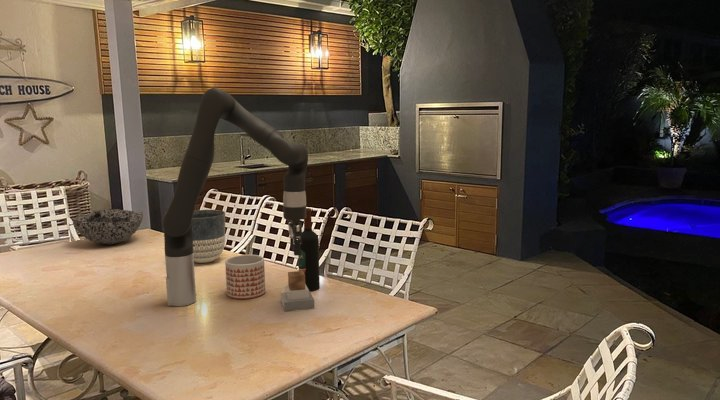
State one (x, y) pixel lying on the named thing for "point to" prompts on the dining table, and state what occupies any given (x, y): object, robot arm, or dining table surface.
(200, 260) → the planter
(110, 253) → the dining table surface
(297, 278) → the walnut block
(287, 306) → the plinth
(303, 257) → the wine bottle
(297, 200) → the robot arm
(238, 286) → the vase
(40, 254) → the dining table surface
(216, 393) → the dining table surface
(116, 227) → the bowl
